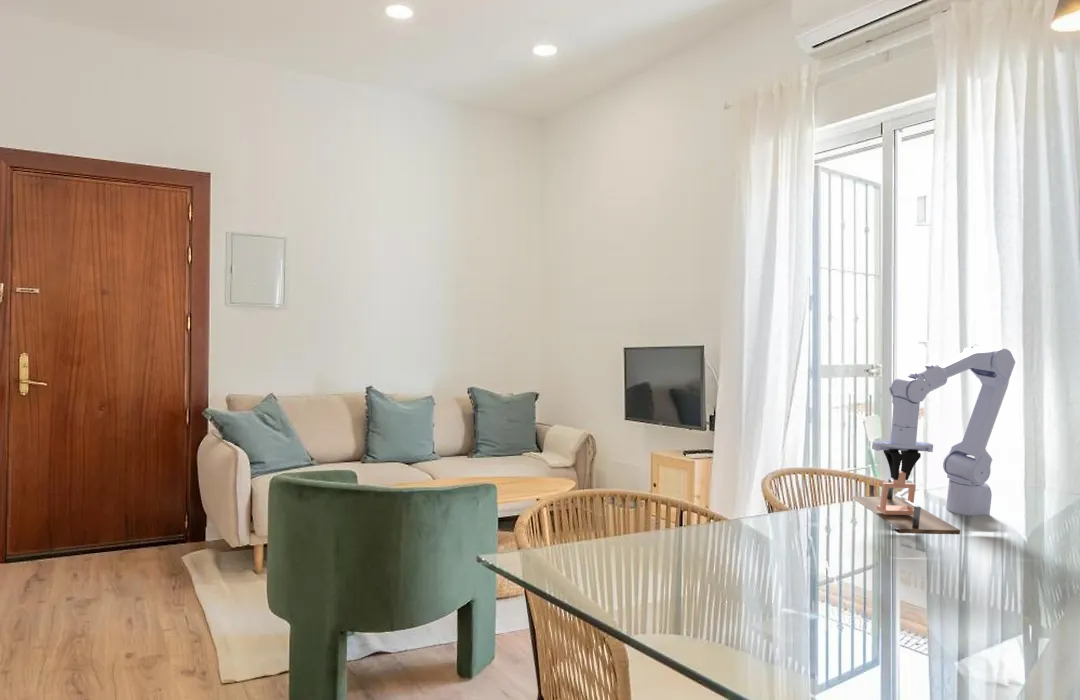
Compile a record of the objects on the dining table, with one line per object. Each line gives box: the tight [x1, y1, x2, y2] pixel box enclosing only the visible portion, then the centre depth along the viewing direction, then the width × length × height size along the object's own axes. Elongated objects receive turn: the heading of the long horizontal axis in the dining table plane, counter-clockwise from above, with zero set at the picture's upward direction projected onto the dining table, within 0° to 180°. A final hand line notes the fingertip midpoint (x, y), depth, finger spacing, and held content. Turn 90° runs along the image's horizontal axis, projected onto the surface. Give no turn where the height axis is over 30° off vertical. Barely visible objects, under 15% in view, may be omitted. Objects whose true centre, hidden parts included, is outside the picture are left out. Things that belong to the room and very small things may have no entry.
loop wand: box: [877, 470, 916, 515], centre depth 187 cm, size 8×4×10 cm, turn 93°
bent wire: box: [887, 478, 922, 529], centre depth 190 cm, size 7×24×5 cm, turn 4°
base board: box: [850, 496, 961, 535], centre depth 190 cm, size 15×25×1 cm, turn 4°
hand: (899, 478), depth 187 cm, fingers closed on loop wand, 2 cm apart
